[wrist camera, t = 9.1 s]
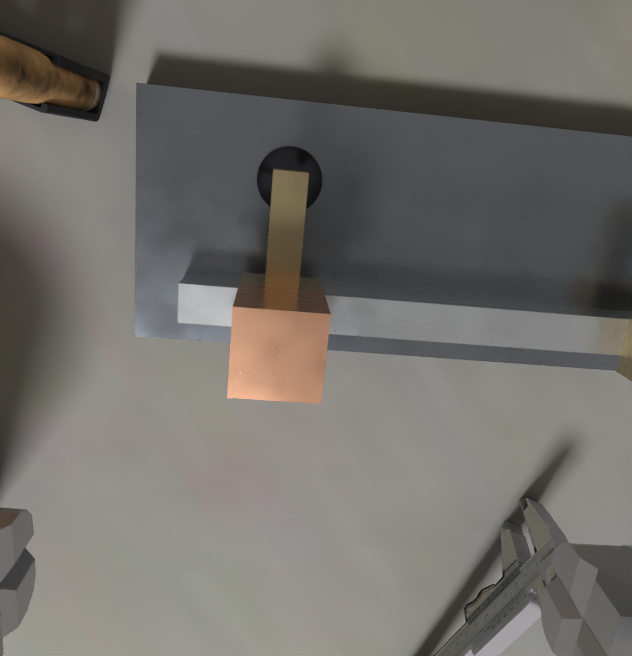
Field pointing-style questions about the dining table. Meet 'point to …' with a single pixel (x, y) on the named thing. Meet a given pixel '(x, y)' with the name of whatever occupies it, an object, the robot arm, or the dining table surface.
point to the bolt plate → (389, 227)
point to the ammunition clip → (49, 81)
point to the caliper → (510, 588)
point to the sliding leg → (280, 311)
